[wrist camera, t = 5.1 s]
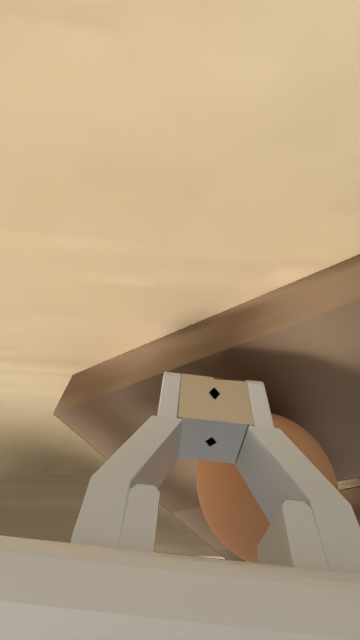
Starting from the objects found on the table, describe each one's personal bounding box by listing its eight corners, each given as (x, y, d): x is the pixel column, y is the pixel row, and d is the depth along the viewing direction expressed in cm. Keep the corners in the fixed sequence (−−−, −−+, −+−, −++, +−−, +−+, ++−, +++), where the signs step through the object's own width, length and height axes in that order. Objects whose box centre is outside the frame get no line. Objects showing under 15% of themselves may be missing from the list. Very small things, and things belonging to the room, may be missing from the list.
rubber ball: (225, 464, 15) (234, 595, 11) (177, 406, 13) (164, 544, 8) (325, 441, 13) (381, 584, 9) (291, 369, 11) (345, 518, 7)
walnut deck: (228, 526, 25) (230, 563, 23) (72, 375, 16) (52, 413, 13) (446, 492, 20) (474, 535, 18) (409, 233, 10) (461, 261, 8)
